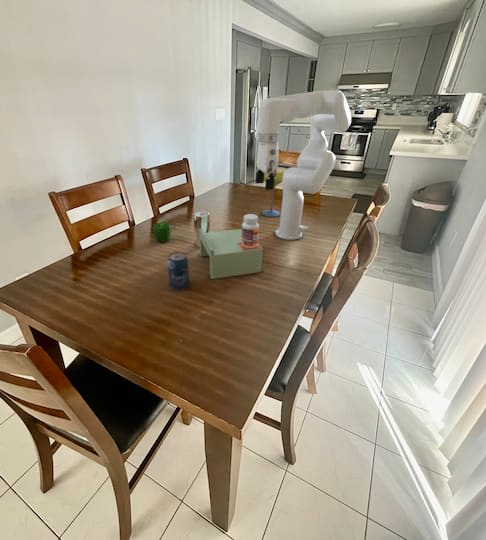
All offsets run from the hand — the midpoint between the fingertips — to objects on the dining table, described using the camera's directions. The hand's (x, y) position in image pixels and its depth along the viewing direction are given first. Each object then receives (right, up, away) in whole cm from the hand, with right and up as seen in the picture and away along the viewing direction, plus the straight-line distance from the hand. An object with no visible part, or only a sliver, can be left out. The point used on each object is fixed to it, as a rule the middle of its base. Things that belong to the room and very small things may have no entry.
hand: (264, 186), depth 115 cm
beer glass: (-25, -22, +20) cm, 39 cm away
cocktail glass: (+13, 0, +55) cm, 56 cm away
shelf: (-14, -30, +5) cm, 33 cm away
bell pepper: (-44, -19, +24) cm, 54 cm away
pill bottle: (-6, -23, -3) cm, 25 cm away
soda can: (-32, -39, -8) cm, 51 cm away
